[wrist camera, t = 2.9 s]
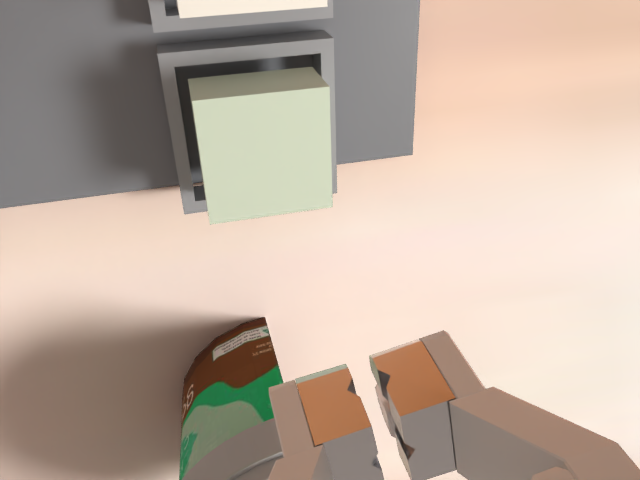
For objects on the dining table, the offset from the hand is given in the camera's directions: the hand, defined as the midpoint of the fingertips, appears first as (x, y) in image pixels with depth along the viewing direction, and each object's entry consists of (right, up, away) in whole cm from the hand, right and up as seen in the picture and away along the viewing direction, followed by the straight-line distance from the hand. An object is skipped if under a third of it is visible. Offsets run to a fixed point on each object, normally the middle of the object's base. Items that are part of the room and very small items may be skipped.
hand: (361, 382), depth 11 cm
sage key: (-3, +7, +11) cm, 14 cm away
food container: (-6, -6, +21) cm, 23 cm away
